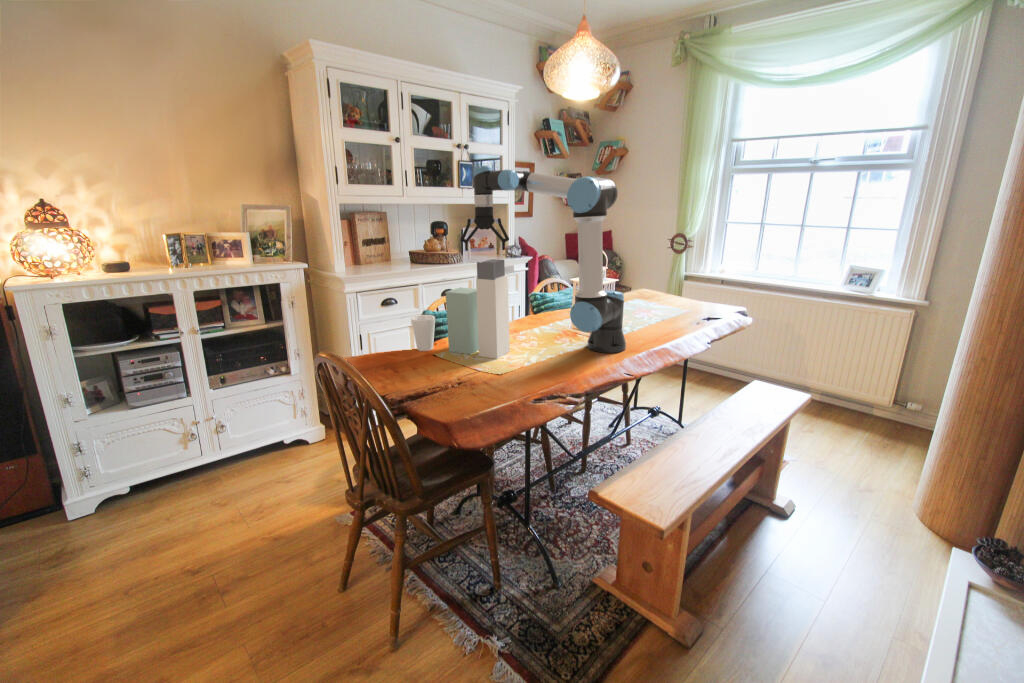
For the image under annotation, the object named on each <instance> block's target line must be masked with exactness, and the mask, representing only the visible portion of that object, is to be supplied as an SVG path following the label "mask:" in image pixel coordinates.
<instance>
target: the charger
mask: <svg viewBox="0 0 1024 683" xmlns="http://www.w3.org/2000/svg"><path fill="white" fill-rule="evenodd" d="M482 262H487V263H495V279H496V278H499V277H502V276H506V275H508V274H512V273H514V272H515V268H514V267H515V266H514V265H511V264H510V265H509V264H508V265H505V259H500V258H499V259H496V258H494V259H493V258H492V259H487V260H483V261H482Z"/></svg>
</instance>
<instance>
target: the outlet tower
mask: <svg viewBox="0 0 1024 683" xmlns="http://www.w3.org/2000/svg"><path fill="white" fill-rule="evenodd" d="M476 277H477V278H475V282H476V289H477V314H478V340H479V350H478V357H483V358H488V359H495V360H498V359H500V358H502V357H503V356H505V355H506V354H508V353H509V352H510V349H511V348H510V309H509V307H510V306H509V305H510V304H509V302H510V301H509V295H510V294H509V275H505V276H502V277H499V278H496V279H495V263H487V262H483V261H476Z"/></svg>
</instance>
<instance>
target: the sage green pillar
mask: <svg viewBox="0 0 1024 683" xmlns="http://www.w3.org/2000/svg"><path fill="white" fill-rule="evenodd" d="M445 303H446V304H445V306H446V321H447V322H446V324H447V337H448V352H451V353H457V354H462V353H464V354H463V355H468V354H471V355H473V354H475V353H476V352H479V340H478V314H477V288H469V287H458V288H455V289H451V290H448V291H445ZM474 352H475V353H474ZM472 353H473V354H472Z"/></svg>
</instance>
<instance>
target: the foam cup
mask: <svg viewBox="0 0 1024 683" xmlns="http://www.w3.org/2000/svg"><path fill="white" fill-rule="evenodd" d="M410 324H411V326H412V329H413V335H414V340H415V344H416V349H417V351H419V352H428V351H432V350H433V349H434V344H435V342H434V341H435V340H434V338H435V326H436V317H435V316H434V315H432V314H418V315H414V316H411V317H410Z"/></svg>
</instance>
